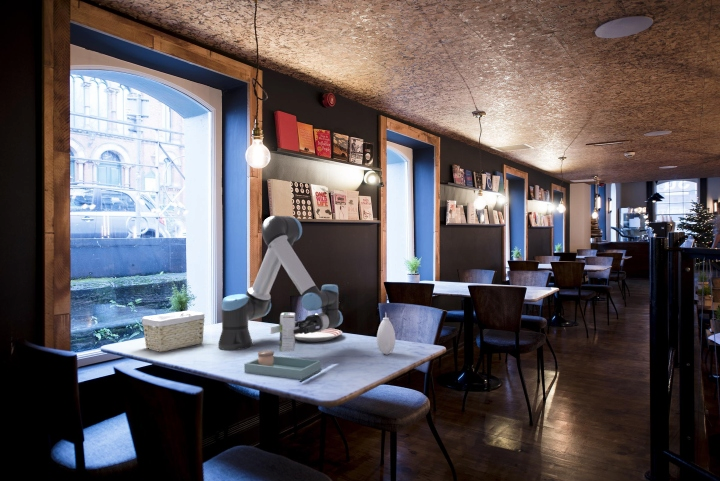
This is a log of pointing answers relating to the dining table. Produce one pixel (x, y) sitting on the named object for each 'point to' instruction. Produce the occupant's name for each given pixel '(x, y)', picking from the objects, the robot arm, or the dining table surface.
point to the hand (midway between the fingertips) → (279, 331)
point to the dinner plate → (319, 335)
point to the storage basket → (173, 330)
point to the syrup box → (285, 323)
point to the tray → (285, 367)
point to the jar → (265, 358)
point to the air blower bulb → (386, 336)
